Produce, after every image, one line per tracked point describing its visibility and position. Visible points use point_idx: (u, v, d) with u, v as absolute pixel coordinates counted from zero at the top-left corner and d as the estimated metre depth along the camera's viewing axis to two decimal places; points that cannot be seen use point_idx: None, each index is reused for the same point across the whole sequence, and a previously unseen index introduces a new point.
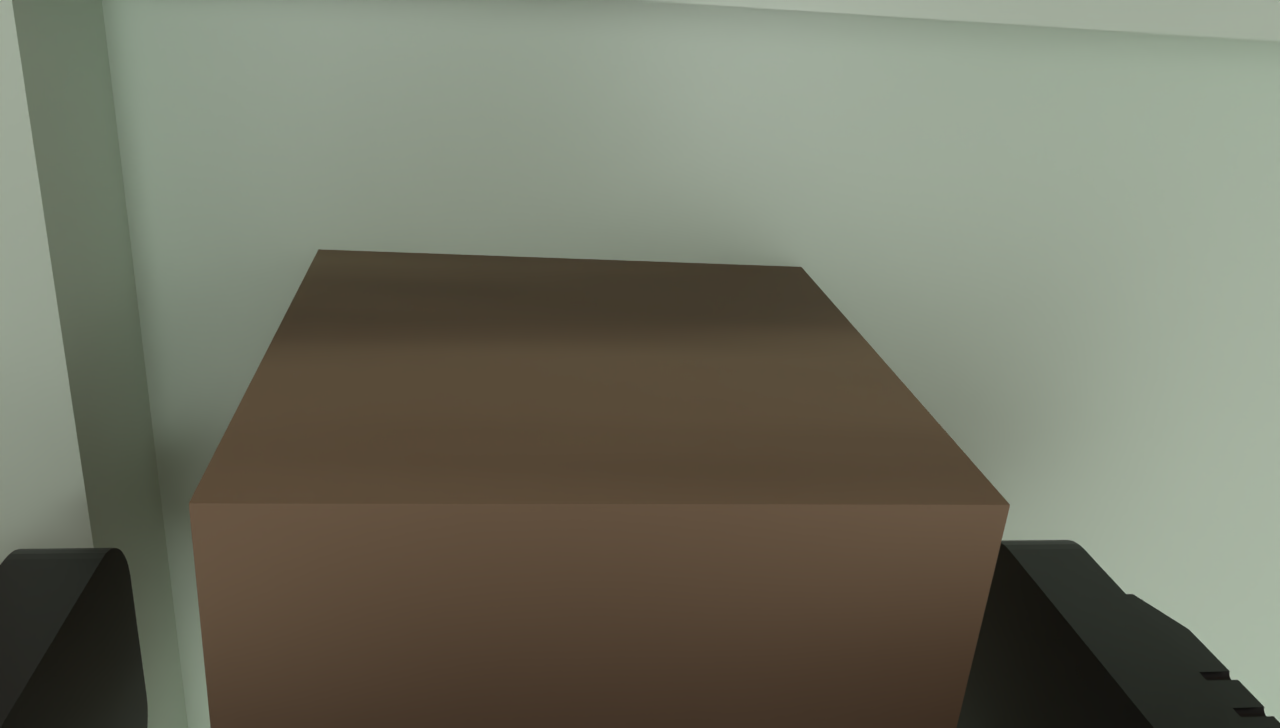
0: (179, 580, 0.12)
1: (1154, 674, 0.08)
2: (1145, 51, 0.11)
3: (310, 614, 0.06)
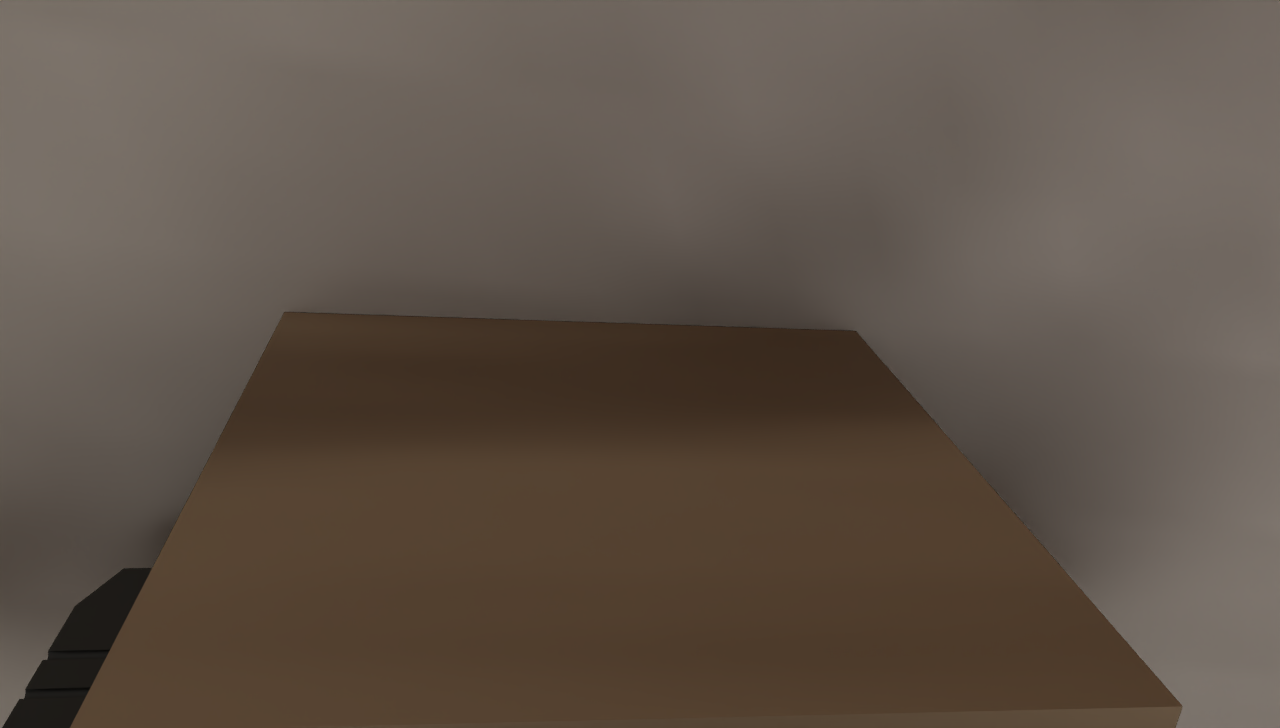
0: None
1: None
2: None
3: None
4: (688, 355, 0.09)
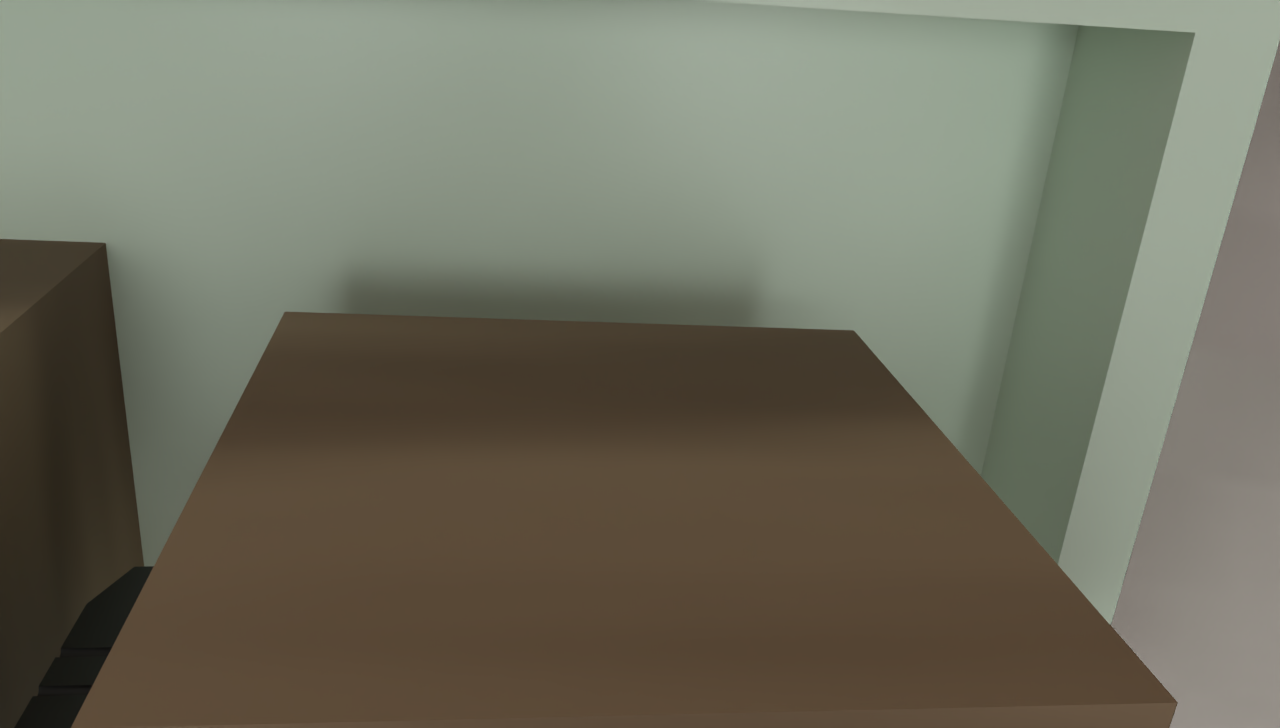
0: None
1: None
2: (452, 5, 0.10)
3: None
4: (687, 354, 0.09)
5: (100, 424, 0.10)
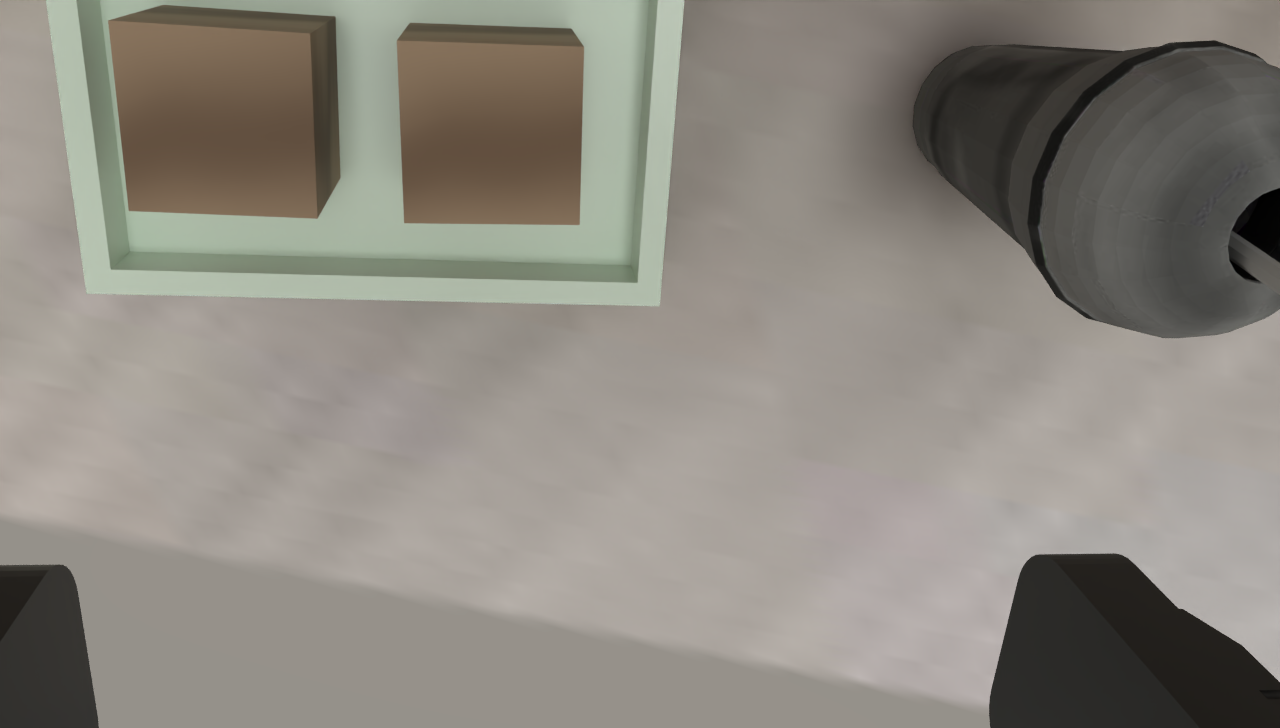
0: (118, 133, 0.33)
1: (1215, 694, 0.07)
2: None
3: (137, 53, 0.28)
4: (518, 28, 0.33)
5: (334, 74, 0.32)
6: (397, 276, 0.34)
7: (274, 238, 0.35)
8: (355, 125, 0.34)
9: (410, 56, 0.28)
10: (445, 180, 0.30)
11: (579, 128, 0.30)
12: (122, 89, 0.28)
